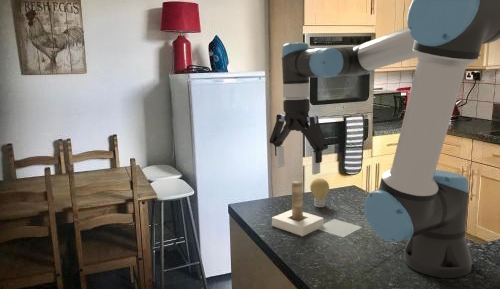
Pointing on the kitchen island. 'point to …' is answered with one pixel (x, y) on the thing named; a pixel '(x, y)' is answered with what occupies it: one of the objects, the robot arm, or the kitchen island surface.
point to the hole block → (298, 223)
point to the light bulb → (319, 191)
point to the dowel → (297, 201)
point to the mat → (339, 228)
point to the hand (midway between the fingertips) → (297, 170)
